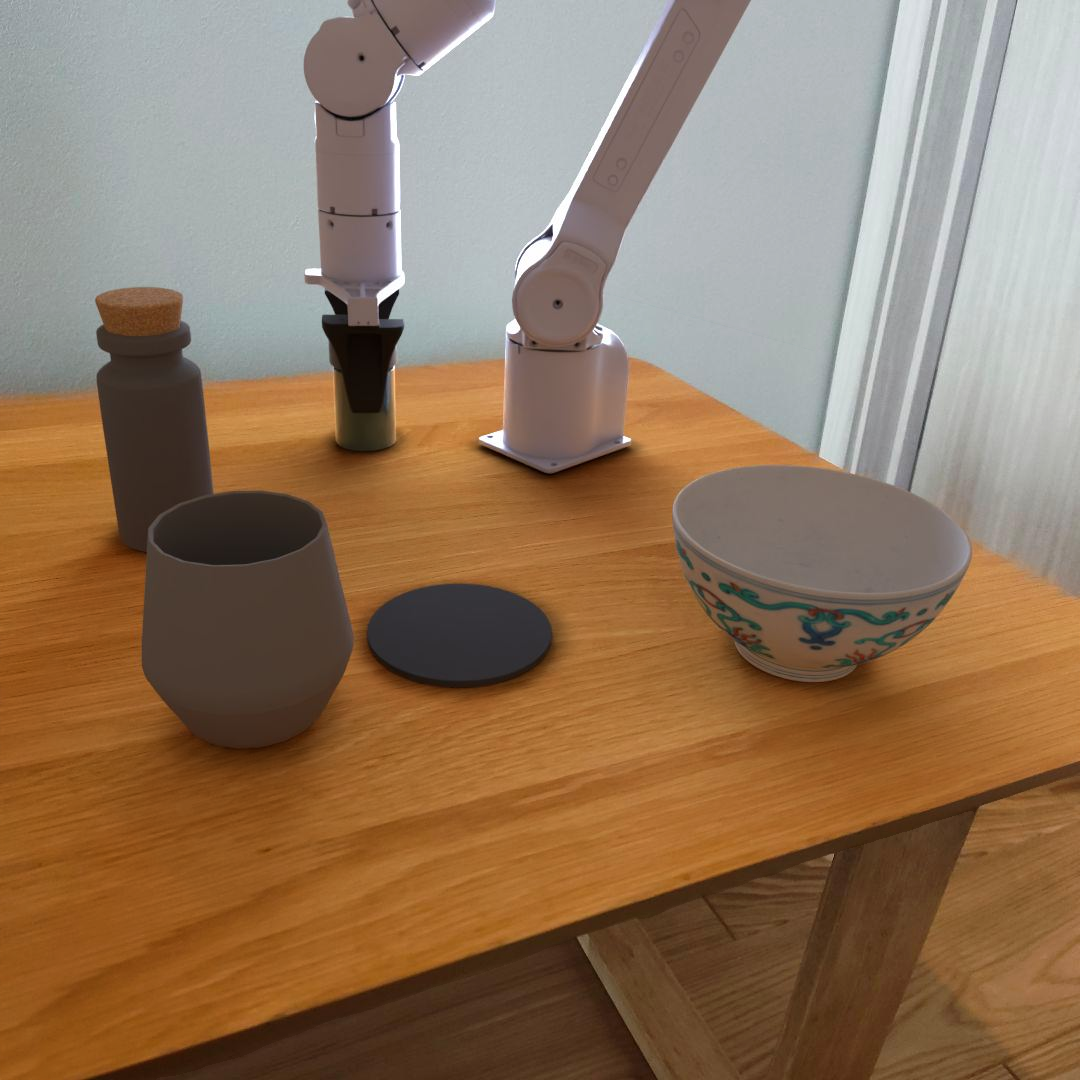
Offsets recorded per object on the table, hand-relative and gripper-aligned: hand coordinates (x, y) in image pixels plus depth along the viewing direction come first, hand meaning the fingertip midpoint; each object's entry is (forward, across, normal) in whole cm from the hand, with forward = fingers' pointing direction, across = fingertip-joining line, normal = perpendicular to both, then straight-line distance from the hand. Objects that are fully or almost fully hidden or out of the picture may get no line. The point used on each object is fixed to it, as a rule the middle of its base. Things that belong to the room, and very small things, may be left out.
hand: (365, 394), depth 80 cm
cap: (-4, 0, 0) cm, 4 cm away
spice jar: (+4, 0, 0) cm, 4 cm away
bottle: (+4, +15, -13) cm, 20 cm away
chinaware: (+4, +32, +23) cm, 39 cm away
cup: (+4, +35, -6) cm, 36 cm away
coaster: (+4, +29, +5) cm, 29 cm away
